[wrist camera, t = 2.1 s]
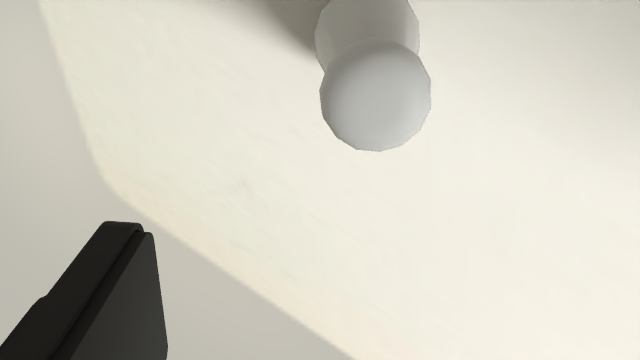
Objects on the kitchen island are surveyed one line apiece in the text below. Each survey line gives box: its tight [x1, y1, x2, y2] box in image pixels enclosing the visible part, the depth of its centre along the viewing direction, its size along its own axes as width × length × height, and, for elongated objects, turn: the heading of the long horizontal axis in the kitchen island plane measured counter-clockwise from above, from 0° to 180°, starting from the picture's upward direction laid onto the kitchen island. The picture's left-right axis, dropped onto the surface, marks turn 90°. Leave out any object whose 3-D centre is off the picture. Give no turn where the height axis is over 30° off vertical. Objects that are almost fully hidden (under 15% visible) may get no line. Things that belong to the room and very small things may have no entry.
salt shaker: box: [314, 0, 431, 152], centre depth 24 cm, size 6×6×13 cm
